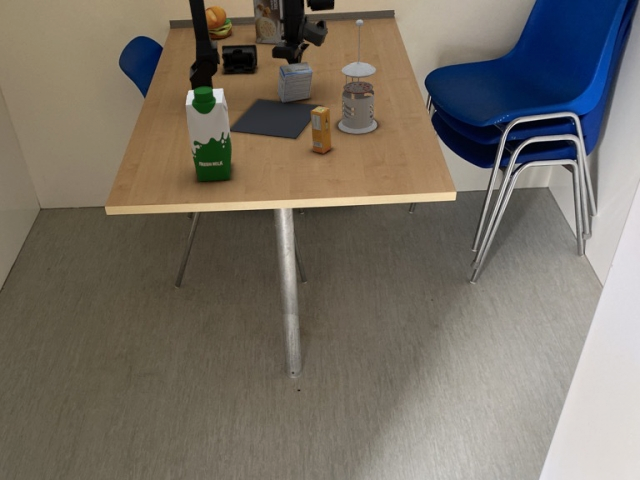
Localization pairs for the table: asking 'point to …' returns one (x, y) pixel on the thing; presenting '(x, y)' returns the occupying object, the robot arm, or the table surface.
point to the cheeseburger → (218, 22)
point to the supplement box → (321, 129)
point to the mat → (275, 118)
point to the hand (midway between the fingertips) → (296, 74)
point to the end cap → (239, 59)
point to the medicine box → (294, 82)
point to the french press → (358, 97)
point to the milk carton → (209, 133)
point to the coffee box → (268, 21)
